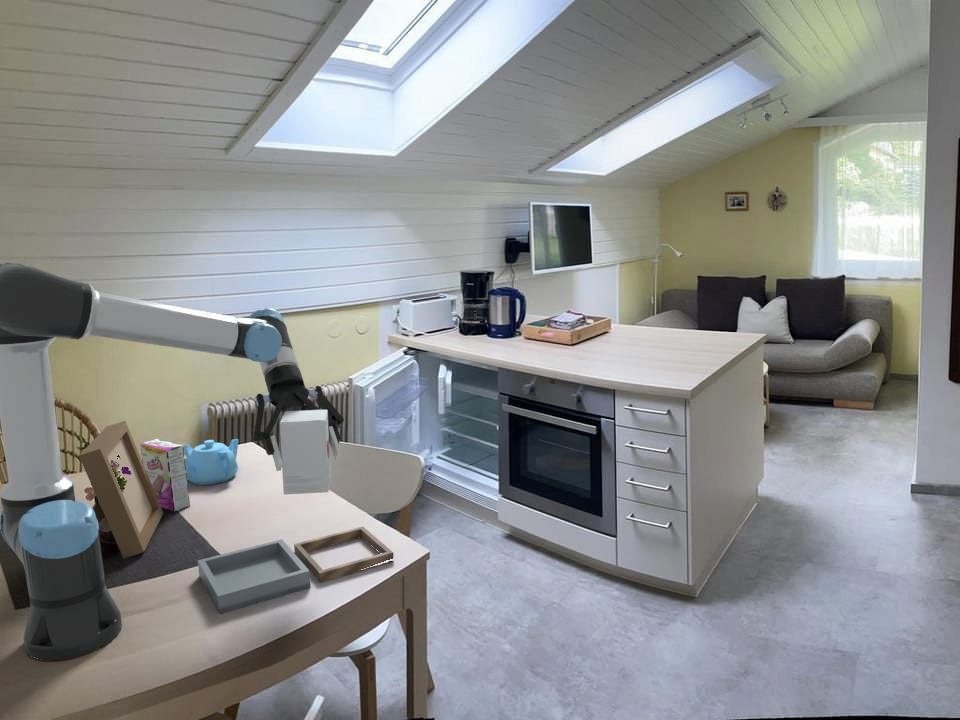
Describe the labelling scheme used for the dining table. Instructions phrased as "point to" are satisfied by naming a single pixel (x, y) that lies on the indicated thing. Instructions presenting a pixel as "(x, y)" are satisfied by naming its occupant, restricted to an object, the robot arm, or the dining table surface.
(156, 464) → the candy bar box
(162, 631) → the dining table surface
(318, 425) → the supplement box
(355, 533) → the walnut collar
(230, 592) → the grey tray
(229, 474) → the teapot
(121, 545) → the photo frame
